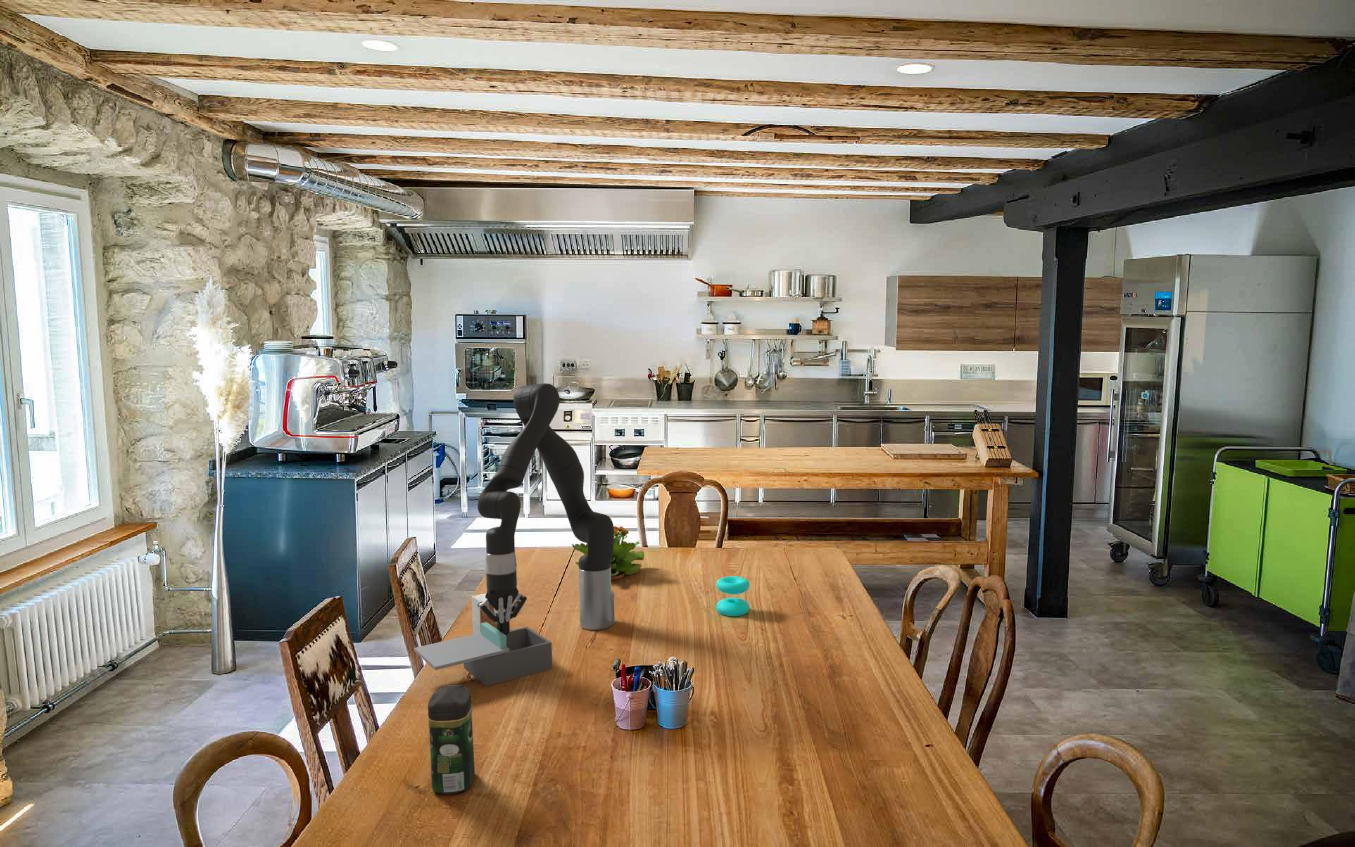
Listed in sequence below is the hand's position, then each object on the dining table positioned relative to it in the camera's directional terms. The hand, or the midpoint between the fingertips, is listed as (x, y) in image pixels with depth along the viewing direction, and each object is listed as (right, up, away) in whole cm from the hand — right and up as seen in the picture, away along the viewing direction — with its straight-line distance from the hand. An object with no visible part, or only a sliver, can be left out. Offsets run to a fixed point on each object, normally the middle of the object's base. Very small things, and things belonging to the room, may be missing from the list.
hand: (503, 635), depth 223 cm
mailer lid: (-9, -2, -6) cm, 11 cm away
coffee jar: (+1, -16, -53) cm, 55 cm away
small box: (-8, -7, +20) cm, 23 cm away
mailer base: (+1, -9, +2) cm, 9 cm away
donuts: (+61, -3, +43) cm, 75 cm away
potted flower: (+20, +1, +79) cm, 81 cm away
